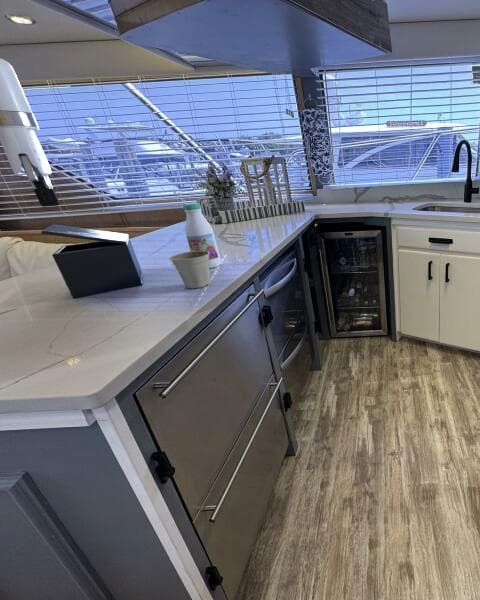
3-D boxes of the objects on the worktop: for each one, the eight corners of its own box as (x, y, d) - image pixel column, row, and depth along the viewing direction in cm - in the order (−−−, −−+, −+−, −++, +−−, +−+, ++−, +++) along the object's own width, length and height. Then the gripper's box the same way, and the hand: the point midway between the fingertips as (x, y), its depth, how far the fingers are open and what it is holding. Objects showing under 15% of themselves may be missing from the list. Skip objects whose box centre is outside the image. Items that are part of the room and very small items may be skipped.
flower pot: (209, 277, 95) (201, 248, 92) (223, 283, 90) (215, 253, 86) (173, 286, 89) (163, 256, 85) (187, 294, 83) (176, 261, 80)
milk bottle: (199, 264, 109) (180, 203, 101) (224, 261, 111) (208, 201, 103) (193, 270, 102) (172, 206, 94) (219, 267, 104) (202, 204, 96)
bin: (73, 298, 83) (51, 254, 78) (81, 285, 92) (62, 245, 88) (142, 285, 91) (126, 244, 86) (143, 274, 100) (129, 237, 96)
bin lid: (41, 234, 76) (41, 230, 76) (53, 227, 86) (53, 224, 86) (126, 244, 86) (126, 241, 86) (128, 237, 95) (128, 234, 95)
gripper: (0, 125, 76) (38, 205, 84) (-25, 117, 65) (21, 210, 73) (44, 126, 80) (76, 202, 88) (27, 119, 69) (66, 206, 77)
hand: (51, 205), depth 80 cm, fingers closed
